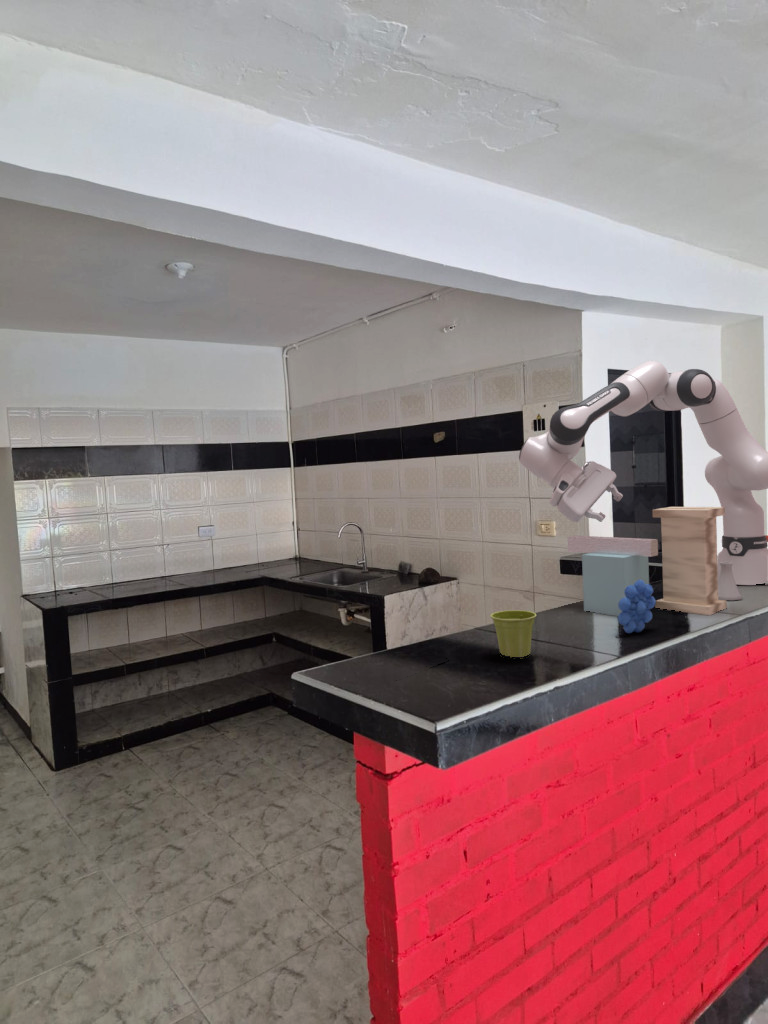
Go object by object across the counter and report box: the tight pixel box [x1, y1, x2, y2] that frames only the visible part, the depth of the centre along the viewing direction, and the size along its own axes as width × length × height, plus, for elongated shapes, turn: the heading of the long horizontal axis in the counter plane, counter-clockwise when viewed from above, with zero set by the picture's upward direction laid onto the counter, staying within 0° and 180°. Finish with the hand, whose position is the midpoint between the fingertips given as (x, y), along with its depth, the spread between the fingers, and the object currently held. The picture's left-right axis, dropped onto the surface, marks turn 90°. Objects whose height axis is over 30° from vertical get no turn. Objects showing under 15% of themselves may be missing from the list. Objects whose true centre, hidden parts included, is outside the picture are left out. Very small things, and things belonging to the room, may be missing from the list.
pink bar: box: [567, 535, 659, 558], centre depth 180 cm, size 4×24×4 cm, turn 41°
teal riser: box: [581, 553, 650, 617], centre depth 179 cm, size 12×12×15 cm
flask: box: [718, 562, 743, 601], centre depth 186 cm, size 7×7×10 cm
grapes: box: [617, 580, 657, 634], centre depth 156 cm, size 12×7×12 cm, turn 120°
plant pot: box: [490, 609, 537, 658], centre depth 143 cm, size 9×9×9 cm
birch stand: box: [652, 506, 728, 616], centre depth 176 cm, size 10×14×26 cm
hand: (612, 508), depth 184 cm, fingers open, 8 cm apart
